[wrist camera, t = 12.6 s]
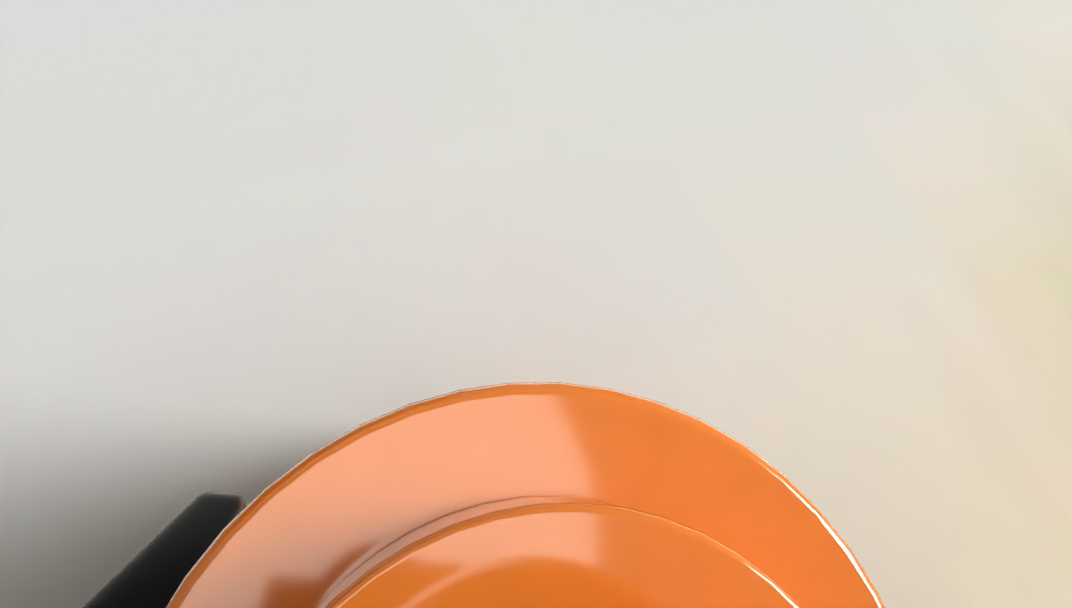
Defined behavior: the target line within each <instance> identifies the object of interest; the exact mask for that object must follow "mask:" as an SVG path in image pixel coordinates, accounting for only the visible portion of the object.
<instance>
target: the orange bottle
mask: <svg viewBox="0 0 1072 608" xmlns="http://www.w3.org/2000/svg"><path fill="white" fill-rule="evenodd" d="M166 608H885V607H884V605H883V603H882V601H881V599H880V597H879V595H878V593H877V591H876V590H875V588H874V586H873V585H872V583H871V582H870V580H869V578H868V577H867V575H866V574H865V572H864V570H863V569H862V567H861V566H860V564H859V562H858V561H857V559H856V557H855V556H854V554H853V553H852V551H851V549H850V548H849V547H848V545H847V544H846V543H845V542H844V540H843V539H842V538H841V537H840V535H839V534H838V533H837V532H836V530H835V529H834V528H833V527H832V525H831V524H830V523H829V522H828V520H827V519H826V518H825V517H824V515H823V514H822V513H821V512H820V510H819V509H818V508H817V507H816V506H815V505H814V504H813V503H812V502H811V501H810V500H809V499H808V498H807V497H806V496H805V495H804V494H803V493H802V492H801V491H800V490H799V489H798V488H797V487H796V486H795V485H794V484H793V483H792V482H791V481H790V480H789V479H787V478H786V477H785V476H784V475H783V474H782V473H781V472H780V471H779V470H777V469H776V468H775V467H773V466H772V465H771V464H769V463H768V462H767V461H765V460H764V459H763V458H761V457H760V456H759V455H757V454H756V453H755V452H753V451H752V450H751V449H750V448H748V447H747V446H746V445H744V444H743V443H741V442H739V441H738V440H736V439H734V438H732V437H731V436H729V435H727V434H725V433H724V432H722V431H720V430H718V429H717V428H715V427H713V426H712V425H710V424H708V423H706V422H705V421H703V420H701V419H699V418H696V417H694V416H691V415H689V414H687V413H684V412H682V411H679V410H677V409H674V408H672V407H670V406H667V405H665V404H662V403H660V402H657V401H654V400H651V399H647V398H643V397H639V396H635V395H632V394H628V393H624V392H620V391H616V390H613V389H609V388H601V387H593V386H585V385H577V384H569V383H561V382H546V383H505V384H498V385H491V386H484V387H477V388H470V389H463V390H458V391H454V392H450V393H447V394H443V395H440V396H436V397H432V398H429V399H425V400H422V401H418V402H414V403H411V404H408V405H406V406H403V407H401V408H399V409H396V410H394V411H391V412H389V413H387V414H384V415H382V416H380V417H377V418H375V419H372V420H370V421H368V422H365V423H363V424H361V425H359V426H357V427H355V428H354V429H352V430H350V431H348V432H347V433H345V434H343V435H341V436H340V437H338V438H336V439H335V440H333V441H331V442H329V443H328V444H326V445H324V446H322V447H321V448H319V449H317V450H316V451H314V452H312V453H311V454H309V455H308V456H307V457H306V458H304V459H303V460H302V461H300V462H299V463H298V464H296V465H295V466H294V467H292V468H291V469H290V470H288V471H287V472H286V473H284V474H283V475H282V476H280V477H279V478H278V479H277V480H275V481H274V482H273V483H271V484H270V485H269V486H267V487H266V488H265V489H264V490H263V491H262V492H261V493H260V494H259V495H258V496H257V497H256V498H255V499H254V500H253V501H252V502H251V503H250V504H249V505H248V506H247V507H245V508H244V509H243V510H242V511H241V512H240V513H239V514H238V515H237V516H236V517H235V518H234V519H233V520H232V521H231V522H230V523H229V524H228V525H227V526H226V527H225V528H224V529H223V530H222V531H221V533H220V534H219V535H218V536H217V538H216V539H215V540H214V541H213V543H212V544H211V545H210V546H209V548H208V549H207V550H206V551H205V552H204V554H203V555H202V556H201V557H200V559H199V560H198V561H197V562H196V564H195V565H194V566H193V567H192V569H191V570H190V571H189V572H188V574H187V575H186V576H185V578H184V579H183V581H182V582H181V584H180V586H179V587H178V589H177V590H176V592H175V593H174V595H173V597H172V598H171V600H170V601H169V603H168V605H167V606H166Z"/></svg>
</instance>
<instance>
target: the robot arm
mask: <svg viewBox="0 0 1072 608" xmlns="http://www.w3.org/2000/svg"><path fill="white" fill-rule="evenodd" d="M245 507H246V501H245V499H244V497H243V496H242V495H239V494H234V493H222V492H206V493H203V494H201V495H200V496H199V497H197V498H196V499H195V500H194V501H193V502H192V503H191V504H190V505H189V506H188V507H187V508H186V509H185V510H184V511H183V512H182V513H181V514H180V515H179V516H178V517H177V518H175V519H174V520H173V521H172V522H171V523H170V524H169V525H168V526H167V527H166V528H165V529H164V530H163V531H162V532H161V533H160V534H159V535H158V536H157V537H156V538H155V539H154V540H153V541H152V542H150V543H149V544H148V545H147V546H146V547H145V548H144V549H143V550H142V551H141V552H140V553H139V554H138V555H137V556H136V557H135V558H134V559H133V560H132V561H131V562H130V563H129V564H128V565H127V566H126V567H124V568H123V569H122V570H121V571H120V572H119V573H118V574H117V575H116V576H115V577H114V578H113V579H112V580H111V581H110V582H109V583H108V584H107V585H106V586H105V587H104V588H103V589H102V590H101V591H100V592H98V593H97V594H96V595H95V596H94V597H93V598H92V599H91V600H90V601H89V602H88V603H87V604H86V605H85V606H84V607H83V608H166V606H167V605H168V603H169V601H170V600H171V598H172V597H173V595H174V593H175V592H176V590H177V589H178V587H179V586H180V584H181V582H182V581H183V579H184V578H185V576H186V575H187V574H188V572H189V571H190V570H191V569H192V567H193V566H194V565H195V564H196V562H197V561H198V560H199V559H200V557H201V556H202V555H203V554H204V552H205V551H206V550H207V549H208V548H209V546H210V545H211V544H212V543H213V541H214V540H215V539H216V538H217V536H218V535H219V534H220V533H221V531H222V530H223V529H224V528H225V527H226V526H227V525H228V524H229V523H230V522H231V521H232V520H233V519H234V518H235V517H236V516H237V515H238V514H239V513H240V512H241V511H242V510H243V509H244V508H245Z"/></svg>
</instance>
